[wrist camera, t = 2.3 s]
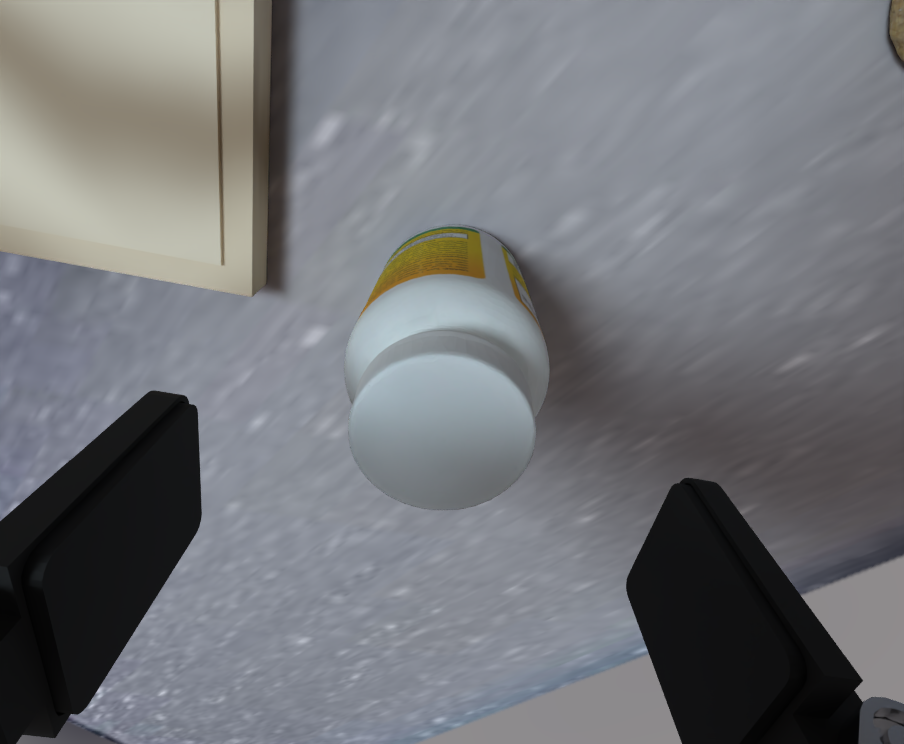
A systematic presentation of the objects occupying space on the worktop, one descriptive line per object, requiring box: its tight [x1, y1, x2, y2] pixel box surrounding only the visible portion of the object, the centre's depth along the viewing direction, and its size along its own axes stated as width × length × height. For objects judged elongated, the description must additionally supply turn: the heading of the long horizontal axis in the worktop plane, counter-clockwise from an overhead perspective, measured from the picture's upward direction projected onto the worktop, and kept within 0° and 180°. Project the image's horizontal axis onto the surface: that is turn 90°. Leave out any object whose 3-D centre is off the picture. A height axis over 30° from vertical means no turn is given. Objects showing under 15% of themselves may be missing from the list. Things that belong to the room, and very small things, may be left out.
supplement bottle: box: [344, 225, 550, 510], centre depth 15 cm, size 6×5×10 cm
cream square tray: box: [0, 0, 272, 297], centre depth 15 cm, size 12×12×2 cm
